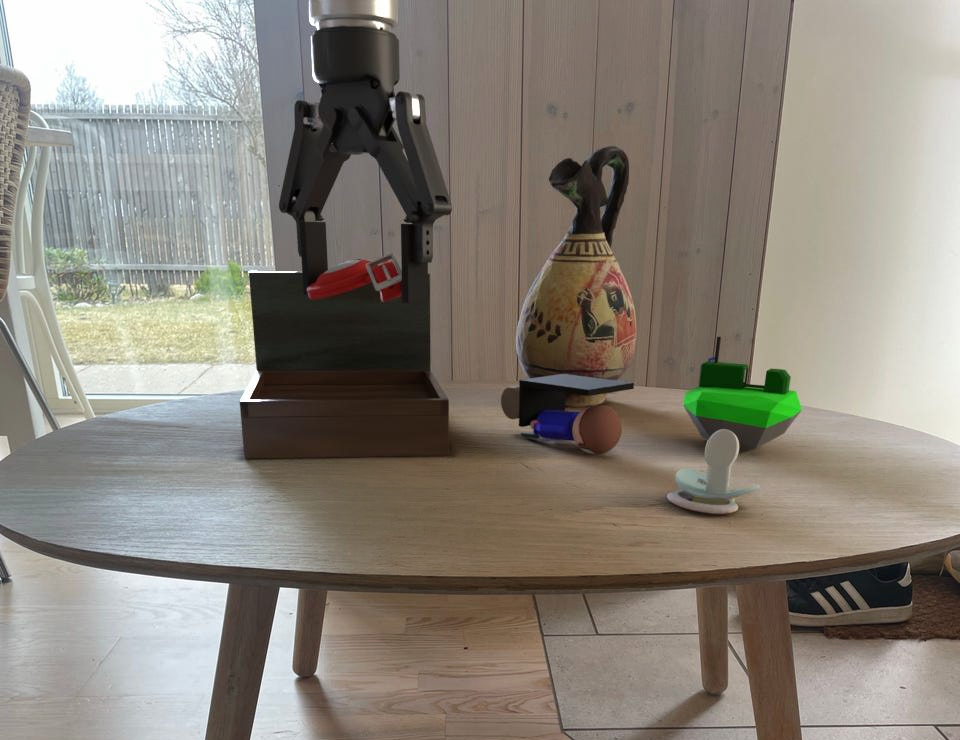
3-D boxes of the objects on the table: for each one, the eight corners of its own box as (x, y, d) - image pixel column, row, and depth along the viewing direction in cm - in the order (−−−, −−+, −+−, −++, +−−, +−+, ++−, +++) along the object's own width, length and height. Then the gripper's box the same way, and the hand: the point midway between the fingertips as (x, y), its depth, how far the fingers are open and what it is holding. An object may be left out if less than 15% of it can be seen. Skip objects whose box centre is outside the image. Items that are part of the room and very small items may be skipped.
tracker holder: (282, 286, 87) (338, 256, 94) (301, 332, 89) (354, 300, 96) (387, 258, 80) (438, 229, 87) (404, 309, 83) (453, 276, 90)
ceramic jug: (577, 416, 112) (593, 137, 100) (490, 398, 123) (495, 143, 110) (662, 401, 123) (687, 147, 110) (576, 386, 133) (590, 152, 121)
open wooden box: (448, 455, 93) (449, 285, 86) (244, 458, 90) (228, 283, 83) (430, 415, 112) (429, 273, 105) (261, 416, 109) (249, 271, 102)
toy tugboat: (666, 451, 96) (677, 341, 91) (697, 431, 105) (708, 330, 101) (784, 466, 91) (802, 349, 86) (805, 444, 100) (822, 338, 96)
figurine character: (497, 448, 102) (588, 460, 90) (494, 377, 100) (587, 380, 88) (544, 441, 106) (637, 452, 94) (542, 373, 103) (638, 375, 92)
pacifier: (722, 524, 73) (765, 509, 77) (730, 446, 70) (775, 434, 74) (650, 504, 78) (694, 490, 82) (655, 430, 75) (701, 419, 79)
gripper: (495, 23, 75) (490, 304, 84) (291, 50, 88) (305, 289, 97) (435, 6, 69) (436, 308, 78) (228, 38, 83) (248, 292, 92)
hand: (363, 298), depth 88 cm, fingers closed on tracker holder, 12 cm apart
